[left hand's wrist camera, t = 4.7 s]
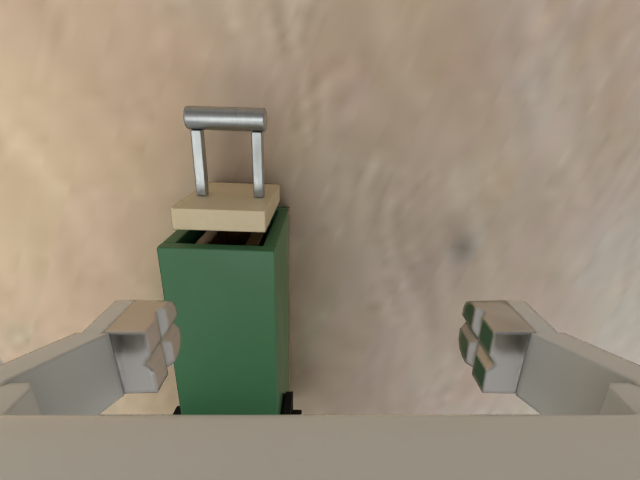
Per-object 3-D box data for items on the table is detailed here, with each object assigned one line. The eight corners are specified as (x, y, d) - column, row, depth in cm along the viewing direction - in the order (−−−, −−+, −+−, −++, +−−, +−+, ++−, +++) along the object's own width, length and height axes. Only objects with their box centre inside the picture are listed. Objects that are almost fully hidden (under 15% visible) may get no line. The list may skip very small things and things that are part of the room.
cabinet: (205, 204, 26) (155, 247, 19) (289, 207, 26) (274, 251, 19) (222, 396, 33) (191, 486, 25) (289, 398, 33) (278, 489, 25)
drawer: (201, 105, 23) (156, 106, 17) (278, 107, 23) (262, 109, 17) (224, 377, 31) (199, 445, 25) (281, 379, 31) (271, 447, 25)
